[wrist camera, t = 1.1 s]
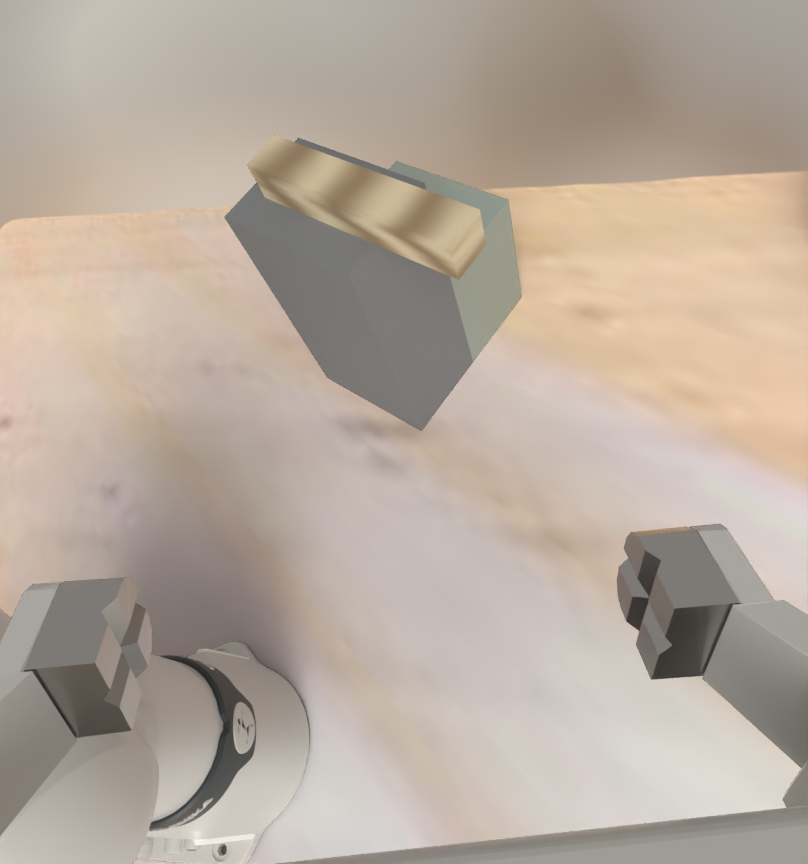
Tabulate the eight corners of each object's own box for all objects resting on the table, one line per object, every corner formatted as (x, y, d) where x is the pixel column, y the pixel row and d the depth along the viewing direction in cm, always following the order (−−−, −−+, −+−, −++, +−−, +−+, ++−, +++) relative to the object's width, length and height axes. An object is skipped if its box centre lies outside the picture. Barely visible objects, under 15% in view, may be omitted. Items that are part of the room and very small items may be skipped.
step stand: (521, 297, 77) (494, 99, 55) (421, 430, 72) (347, 274, 50) (425, 256, 84) (366, 64, 61) (327, 377, 79) (224, 217, 56)
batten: (486, 245, 48) (479, 209, 45) (458, 280, 47) (450, 246, 44) (291, 169, 57) (274, 135, 54) (265, 197, 56) (246, 164, 53)
